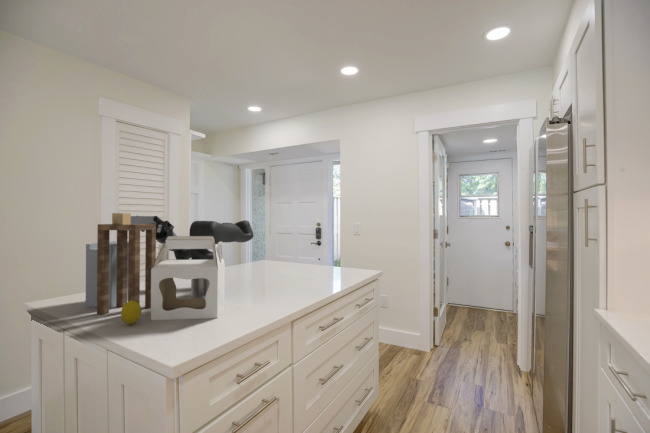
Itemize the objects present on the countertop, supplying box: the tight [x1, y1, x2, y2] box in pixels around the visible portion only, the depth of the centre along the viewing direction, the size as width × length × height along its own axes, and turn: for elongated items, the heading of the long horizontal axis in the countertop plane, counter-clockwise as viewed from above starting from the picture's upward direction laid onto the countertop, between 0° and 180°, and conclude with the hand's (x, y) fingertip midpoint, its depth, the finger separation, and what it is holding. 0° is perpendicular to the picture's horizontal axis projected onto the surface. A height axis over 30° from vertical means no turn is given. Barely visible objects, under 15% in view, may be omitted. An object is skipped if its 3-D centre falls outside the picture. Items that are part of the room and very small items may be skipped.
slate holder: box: [85, 240, 129, 308], centre depth 127 cm, size 10×14×24 cm
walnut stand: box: [96, 223, 157, 316], centre depth 117 cm, size 14×12×32 cm
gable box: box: [150, 235, 226, 321], centre depth 113 cm, size 22×13×28 cm, turn 97°
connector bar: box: [111, 212, 155, 225], centre depth 121 cm, size 4×20×4 cm, turn 177°
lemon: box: [120, 300, 142, 326], centre depth 101 cm, size 6×6×8 cm
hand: (145, 217), depth 127 cm, fingers open, 7 cm apart
